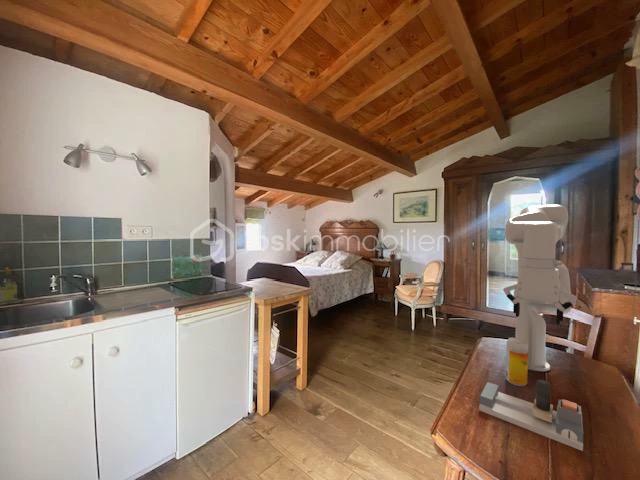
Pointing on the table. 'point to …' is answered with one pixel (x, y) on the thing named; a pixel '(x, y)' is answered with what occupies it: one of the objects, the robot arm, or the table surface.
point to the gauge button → (569, 405)
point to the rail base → (520, 413)
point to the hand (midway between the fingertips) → (537, 319)
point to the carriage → (543, 401)
